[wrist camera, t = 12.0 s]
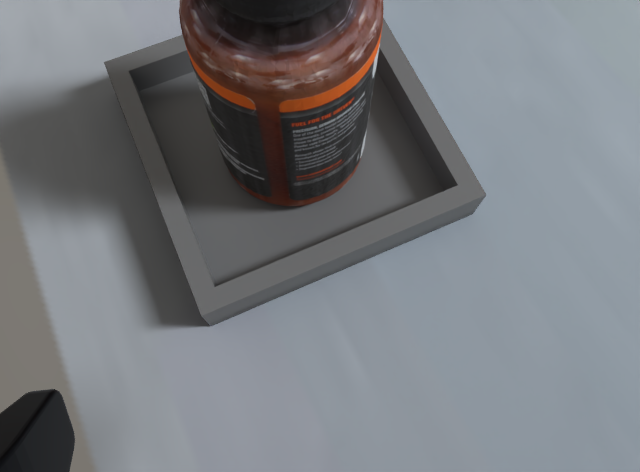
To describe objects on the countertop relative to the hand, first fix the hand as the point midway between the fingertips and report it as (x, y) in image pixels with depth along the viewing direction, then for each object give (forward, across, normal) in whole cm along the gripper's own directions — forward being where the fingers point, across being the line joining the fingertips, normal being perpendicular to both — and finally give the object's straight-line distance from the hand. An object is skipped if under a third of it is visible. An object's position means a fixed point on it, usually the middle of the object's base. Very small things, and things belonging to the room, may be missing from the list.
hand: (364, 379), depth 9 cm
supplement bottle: (+17, 0, +2) cm, 17 cm away
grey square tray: (+17, +1, +2) cm, 18 cm away
